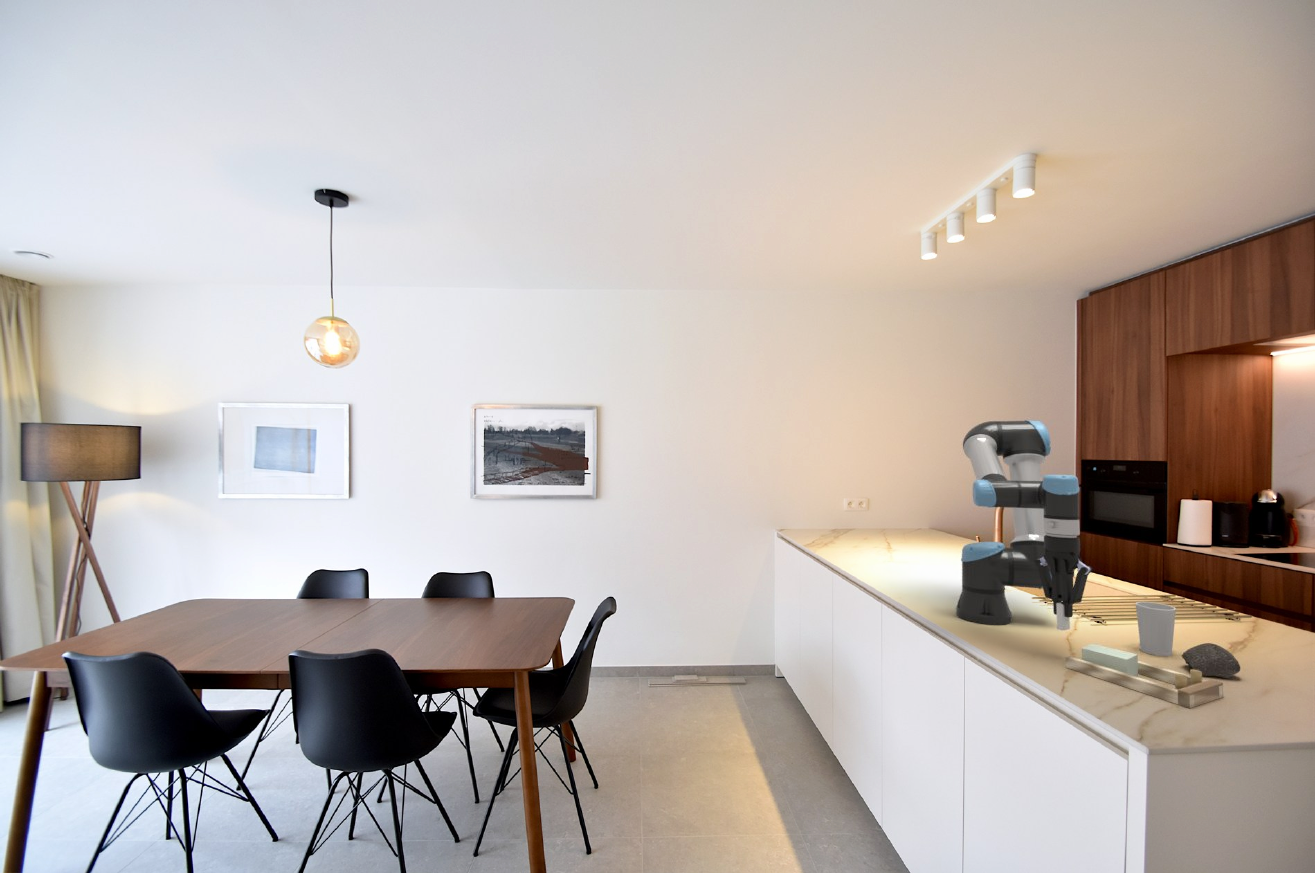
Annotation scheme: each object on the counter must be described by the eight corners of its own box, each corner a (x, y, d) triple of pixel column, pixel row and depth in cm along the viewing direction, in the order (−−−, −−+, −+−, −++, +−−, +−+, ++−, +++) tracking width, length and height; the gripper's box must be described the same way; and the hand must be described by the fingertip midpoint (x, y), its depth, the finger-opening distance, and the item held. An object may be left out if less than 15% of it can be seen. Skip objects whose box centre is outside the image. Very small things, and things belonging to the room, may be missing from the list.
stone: (1176, 682, 139) (1187, 664, 133) (1177, 651, 144) (1187, 632, 137) (1232, 699, 134) (1246, 680, 127) (1231, 665, 138) (1244, 646, 132)
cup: (1184, 658, 145) (1183, 610, 145) (1148, 656, 146) (1147, 609, 147) (1163, 647, 153) (1162, 602, 153) (1129, 645, 154) (1128, 600, 154)
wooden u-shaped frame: (1065, 667, 139) (1065, 646, 139) (1098, 659, 144) (1098, 639, 144) (1190, 708, 117) (1189, 683, 117) (1223, 696, 122) (1222, 673, 123)
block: (1081, 668, 139) (1081, 647, 139) (1092, 663, 142) (1092, 643, 142) (1127, 681, 131) (1127, 659, 131) (1138, 676, 134) (1137, 654, 134)
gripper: (1026, 532, 151) (1028, 623, 150) (1080, 539, 139) (1082, 638, 138) (1044, 531, 154) (1046, 620, 153) (1098, 537, 142) (1100, 634, 141)
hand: (1063, 628), depth 146 cm, fingers closed
